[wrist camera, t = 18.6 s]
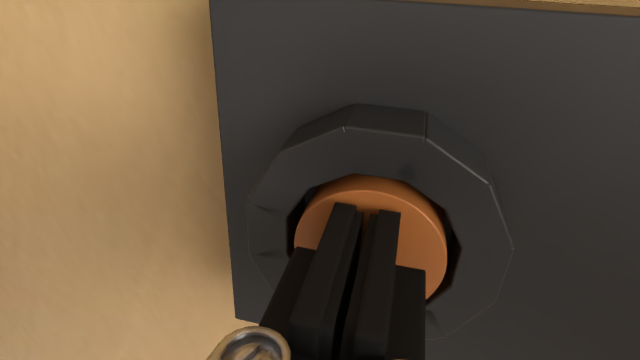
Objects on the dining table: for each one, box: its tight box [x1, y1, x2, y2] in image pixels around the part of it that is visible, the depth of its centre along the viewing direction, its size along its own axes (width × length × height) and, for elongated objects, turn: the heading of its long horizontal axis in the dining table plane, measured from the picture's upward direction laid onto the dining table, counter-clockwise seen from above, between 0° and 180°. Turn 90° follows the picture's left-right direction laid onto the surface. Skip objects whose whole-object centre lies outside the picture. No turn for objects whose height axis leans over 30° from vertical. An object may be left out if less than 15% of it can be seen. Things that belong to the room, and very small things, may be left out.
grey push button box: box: [209, 0, 640, 360], centre depth 12 cm, size 16×12×4 cm
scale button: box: [294, 173, 447, 299], centre depth 11 cm, size 4×4×2 cm
